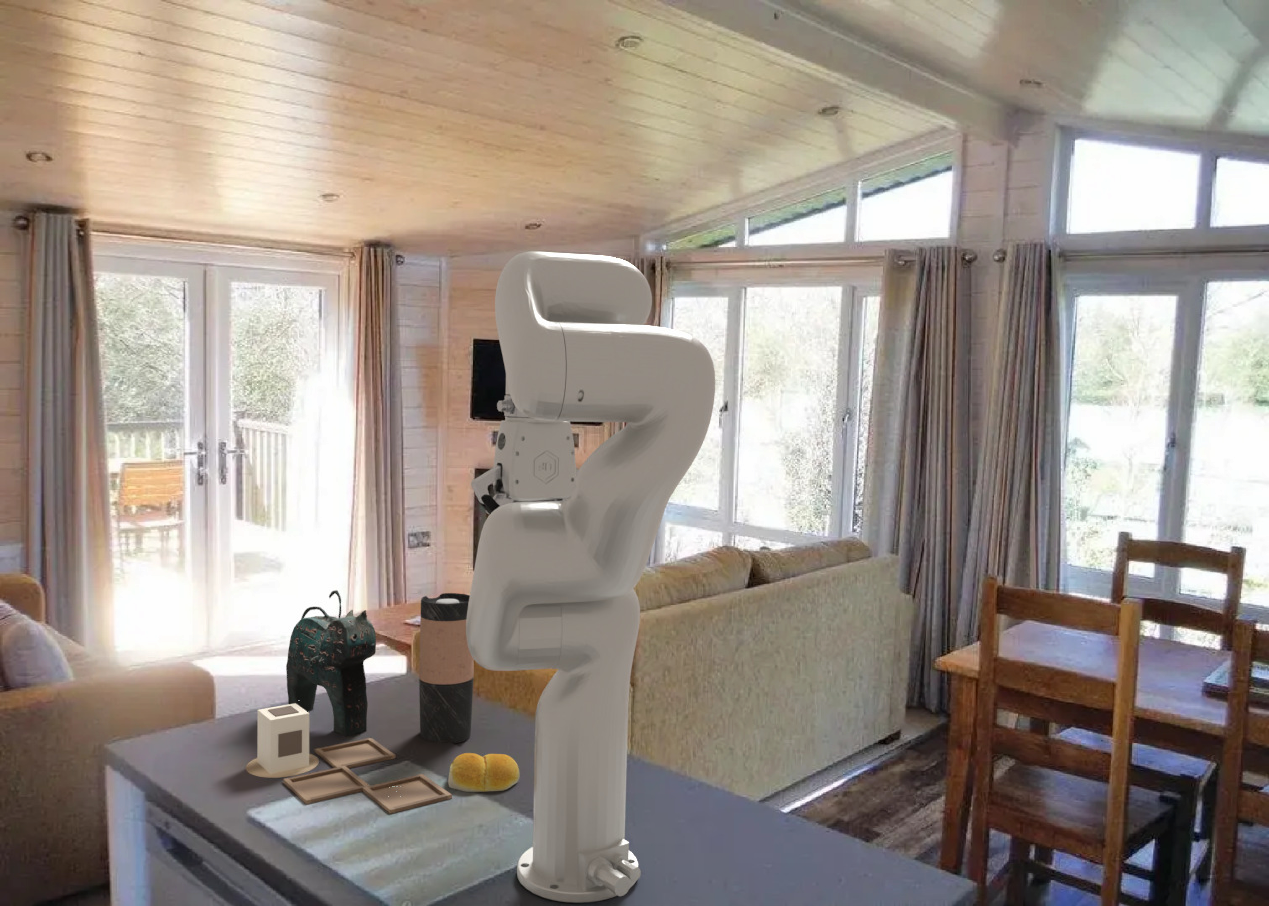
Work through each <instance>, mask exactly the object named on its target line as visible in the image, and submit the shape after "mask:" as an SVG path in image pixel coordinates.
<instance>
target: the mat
mask: <svg viewBox="0 0 1269 906" xmlns="http://www.w3.org/2000/svg"><path fill="white" fill-rule="evenodd" d="M319 762H320V761H319V758H318V757H317V756H316V755H314V754H313V753H309V766H307V767H302V768H297V769H293V770H288V771H283V772H279V773H274V774H270V773H269V772H267V771H266V770H265V769H264V768H263V767H262V766H261V765H260V764H259V763H258V762H257V757H256V758H253V759H252V760H250V761H249V762H248V763H247V764H246V766H245V770H246V772H247V773H248V774H250V775H253V776H256V777H260V778H271V779H272V778H275V779H276V778H277V779H279V778H286V777H287V778H289V777H295V776H299V775H303V774H306V773H308V772H309V771H312V770H313V769H315V768H316V767H317V766H318V765H319Z"/></svg>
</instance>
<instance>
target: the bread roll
mask: <svg viewBox="0 0 1269 906" xmlns="http://www.w3.org/2000/svg"><path fill="white" fill-rule="evenodd" d="M447 779H448V780H447V784H448V787H449V788H450V789H453V790H457V791H460V792H466V793H467V792H469V793H480V792H481V793H482V792H501V791H505V790H509V789H510V788H512V787H513V786H515V785H516V784H517V783H519V780H520V769H519V765H518V763H517V762H516V761H515V759H513V757H512V756H510V755H508V754H505V753H504V754H502V753H488V754H485V755H483V756H482V755H480V754H477V753H475V752H473V753H472V752H465V753H461V754H459V755H457V756H456V757H455V758H454V759H453V761H452V763H450V766H449V772H448V778H447Z"/></svg>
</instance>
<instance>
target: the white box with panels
mask: <svg viewBox="0 0 1269 906" xmlns="http://www.w3.org/2000/svg"><path fill="white" fill-rule="evenodd" d="M256 748H257V752H256V753H257V754H256V755H257V757H256V758H257V762H258V763H259V764H260V765H261V766H262V767H263V768H264V769H265V770H266V771H267V772H269V773H270V774H274V773H279V772H283V771H288V770H293V769H297V768H302V767H307V766H309V754H310V713H309V711H308V712H307V711H306V710H304V709H303V708H301V707H300V706H299V705H297V704H296V703H294V704H288V703H287V704H283V705H278V706H273V707H266V708H260V709H257V747H256Z"/></svg>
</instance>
